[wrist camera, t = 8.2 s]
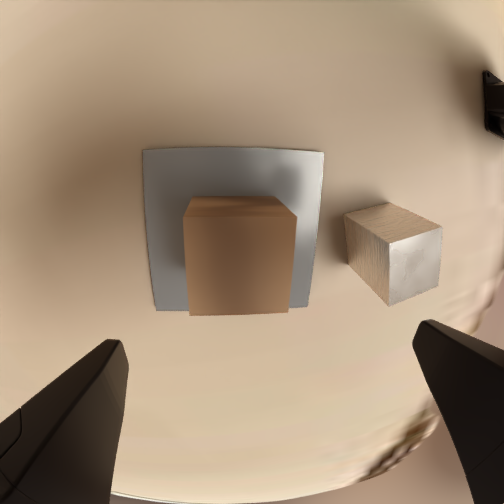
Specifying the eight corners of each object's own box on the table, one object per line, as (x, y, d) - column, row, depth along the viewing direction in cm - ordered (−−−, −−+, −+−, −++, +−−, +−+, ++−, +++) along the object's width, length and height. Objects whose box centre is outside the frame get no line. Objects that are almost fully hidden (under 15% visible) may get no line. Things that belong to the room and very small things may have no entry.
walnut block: (275, 196, 17) (297, 217, 12) (270, 270, 19) (288, 312, 14) (192, 196, 16) (183, 217, 12) (195, 272, 18) (189, 315, 14)
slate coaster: (320, 152, 17) (324, 152, 16) (305, 302, 21) (307, 306, 20) (145, 149, 15) (142, 149, 15) (157, 306, 19) (156, 310, 19)
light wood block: (389, 202, 19) (442, 226, 13) (391, 251, 20) (438, 285, 15) (343, 213, 19) (389, 243, 13) (348, 264, 20) (388, 306, 15)
